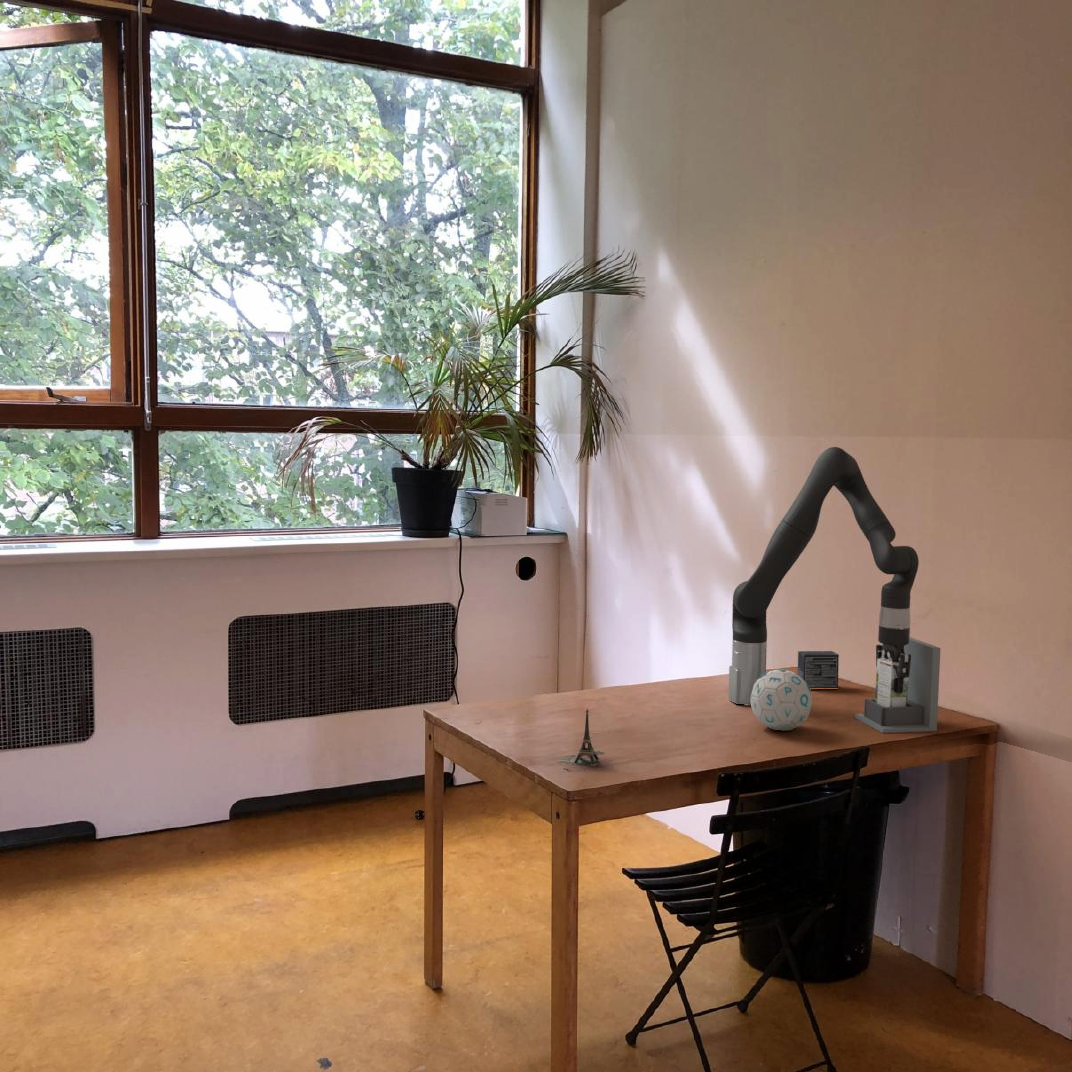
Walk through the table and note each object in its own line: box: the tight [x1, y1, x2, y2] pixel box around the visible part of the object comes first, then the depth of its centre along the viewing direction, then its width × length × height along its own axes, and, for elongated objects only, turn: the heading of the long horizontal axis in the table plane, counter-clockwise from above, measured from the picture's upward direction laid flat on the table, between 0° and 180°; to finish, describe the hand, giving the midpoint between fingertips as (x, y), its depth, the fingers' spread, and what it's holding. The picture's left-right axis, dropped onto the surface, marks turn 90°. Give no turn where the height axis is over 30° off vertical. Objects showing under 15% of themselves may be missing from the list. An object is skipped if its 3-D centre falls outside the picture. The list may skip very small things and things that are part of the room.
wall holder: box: [854, 636, 941, 734], centre depth 278 cm, size 14×15×21 cm
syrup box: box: [874, 658, 909, 707], centre depth 278 cm, size 6×6×14 cm
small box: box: [797, 650, 840, 689], centre depth 319 cm, size 11×6×10 cm, turn 94°
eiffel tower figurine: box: [556, 708, 606, 772], centre depth 243 cm, size 15×10×13 cm
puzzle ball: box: [750, 669, 813, 732], centre depth 272 cm, size 15×15×15 cm
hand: (891, 689), depth 278 cm, fingers closed on syrup box, 6 cm apart
